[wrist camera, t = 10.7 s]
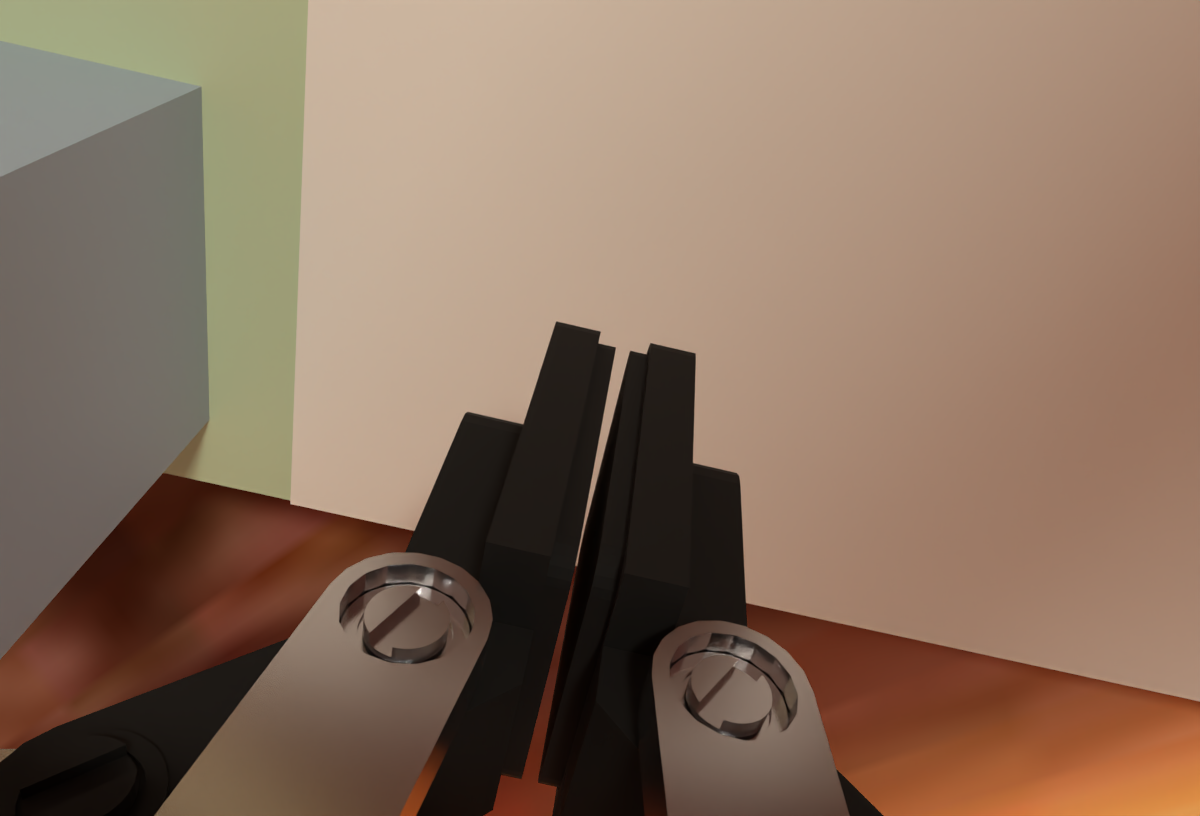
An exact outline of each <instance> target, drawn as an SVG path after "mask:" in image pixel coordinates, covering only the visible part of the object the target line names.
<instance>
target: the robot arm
mask: <svg viewBox="0 0 1200 816" xmlns="http://www.w3.org/2000/svg"><path fill="white" fill-rule="evenodd" d="M600 333H601V331H596V330H592V329H588V328H583V327H579V326H575V325H570V324H566V323H562V322H557V321H556V323H555V326H554V329H553V333H552V336H551V339H550V342H549V345H548V348H547V351H546V355H545V358H544V361H543V364H542V367H541V370H540V373H539V377H538V380H537V383H536V386H535V389H534V392H533V395H532V399H531V402H530V405H529V408H528V411H527V414H526V417H525V420H524V424H520V423H515V422H511V421H507V420H502V419H498V418H493V417H489V416H485V415H480V414H476V413H471V412H467V413H465V415H464V417H463V419H462V421H461V423H460V425H459V428H458V430H457V432H456V435H455V437H454V439H453V442H452V444H451V446H450V449H449V451H448V453H447V456H446V458H445V460H444V463H443V465H442V468H441V470H440V472H439V475H438V477H437V479H436V482H435V484H434V486H433V489H432V491H431V493H430V496H429V498H428V500H427V503H426V505H425V507H424V510H423V512H422V514H421V517H420V519H419V521H418V524H417V526H416V529H415V531H414V533H413V536H412V538H411V540H410V543H409V545H408V547H407V550H406V552H405V553H388V554H384V555H379V556H375V557H370V558H367V559H365V560H363V561H361V562H359V563H357V564H355V565H353V566H351V567H349V568H347V569H345V570H344V571H343V572H342V573H341V574H340V575H339V576H338V577H337V578H336V579H335V580H334V581H333V582H332V583H331V584H330V585H329V586H328V587H327V589H326V590H325V591H324V593H323V594H322V595H321V597H320V598H319V599H318V601H317V602H316V603H315V604H314V606H313V607H312V608H311V610H310V611H309V612H308V614H307V615H306V616H305V618H304V619H303V620H302V622H301V623H300V624H299V626H298V627H297V628H296V629H295V631H294V632H293V633H292V635H291V636H290V637H289V638H288V639H286V640H283V641H281V642H278V643H275V644H273V645H270V646H267V647H265V648H262V649H259V650H257V651H254V652H252V653H249V654H246V655H244V656H241V657H238V658H236V659H233V660H231V661H228V662H225V663H223V664H220V665H217V666H215V667H212V668H210V669H207V670H204V671H202V672H199V673H196V674H194V675H191V676H189V677H186V678H183V679H181V680H178V681H175V682H173V683H170V684H168V685H165V686H162V687H160V688H157V689H154V690H152V691H149V692H147V693H144V694H141V695H139V696H136V697H133V698H131V699H128V700H126V701H123V702H120V703H118V704H115V705H112V706H110V707H107V708H105V709H102V710H99V711H97V712H94V713H91V714H89V715H86V716H84V717H81V718H78V719H76V720H73V721H70V722H68V723H65V724H63V725H60V726H57V727H55V728H53V729H51V730H49V731H47V732H45V733H43V734H41V735H39V736H37V737H35V738H33V739H31V740H29V741H27V742H25V743H23V744H22V745H21V746H20V747H18V748H17V749H0V816H483V815H485V814H487V813H488V812H490V811H492V810H493V806H494V802H495V798H496V794H497V789H498V785H499V781H500V776H501V775H505V776H510V777H514V778H519V779H521V778H522V775H523V771H524V767H525V763H526V759H527V755H528V751H529V747H530V743H531V739H532V735H533V731H534V727H535V724H536V720H537V716H538V712H539V708H540V704H541V700H542V696H543V692H544V688H545V684H546V680H547V676H548V672H549V668H550V664H551V661H552V657H553V653H554V649H555V645H556V641H557V637H558V633H559V629H560V625H561V621H562V617H563V613H564V609H565V605H566V601H567V598H568V594H569V590H570V586H571V581H572V577H573V573H574V568H575V564H576V559H577V555H578V550H579V545H580V540H581V535H582V529H583V524H584V518H585V513H586V508H587V502H588V497H589V491H590V486H591V480H592V475H593V470H594V464H595V459H596V453H597V448H598V443H599V437H600V432H601V426H602V421H603V415H604V410H605V405H606V399H607V394H608V388H609V383H610V378H611V372H612V367H613V361H614V356H615V351H616V347H612V346H608V345H603V344H599V338H600ZM695 371H696V353H692V352H688V351H683V350H679V349H675V348H670V347H666V346H662V345H657V344H653V343H650V345H649V348H648V351H647V354H643V353H638V352H634V351H630V353H629V356H628V360H627V364H626V368H625V371H624V375H623V379H622V383H621V387H620V391H619V395H618V399H617V403H616V407H615V411H614V415H613V419H612V423H611V427H610V431H609V435H608V438H607V442H606V446H605V450H604V454H603V458H602V462H601V466H600V470H599V474H598V478H597V482H596V486H595V490H594V494H593V498H592V502H591V505H590V509H589V513H588V517H587V521H586V525H585V530H584V534H583V538H582V543H581V548H580V553H579V558H578V564H577V569H576V575H575V580H574V586H573V591H572V597H571V602H570V608H569V613H568V619H567V624H566V630H565V635H564V641H563V646H562V651H561V657H560V662H559V668H558V673H557V679H556V684H555V690H554V695H553V701H552V706H551V712H550V717H549V723H548V728H547V734H546V739H545V744H544V750H543V755H542V761H541V766H540V772H539V778H538V783H542V784H546V785H551V786H556V787H557V790H556V796H555V802H554V809H553V815H552V816H883V815H882V814H881V813H880V812H879V811H878V810H877V809H876V808H875V807H874V806H873V805H872V804H871V803H870V802H869V801H868V800H867V799H866V798H865V797H864V796H863V795H862V794H861V793H860V792H859V791H858V790H857V789H856V788H855V787H854V786H853V785H852V784H851V783H850V782H849V781H848V780H847V779H846V778H845V777H844V776H843V775H842V774H841V773H840V772H839V771H838V770H837V769H836V767H835V764H834V760H833V757H832V754H831V750H830V747H829V743H828V740H827V736H826V733H825V730H824V726H823V723H822V719H821V716H820V713H819V709H818V706H817V702H816V699H815V696H814V692H813V690H812V688H811V686H810V683H809V681H808V679H807V677H806V675H805V673H804V671H803V670H802V668H801V667H800V666H799V665H798V664H797V662H796V661H795V660H794V659H793V658H792V657H791V655H790V654H789V653H788V652H787V651H786V650H784V649H783V648H782V647H780V646H779V645H778V644H776V643H775V642H774V641H772V640H771V639H770V638H768V637H767V636H765V635H763V634H760V633H758V632H756V631H754V630H752V629H750V628H748V627H747V615H746V594H745V572H744V550H743V529H742V507H741V486H740V478H739V475H738V474H737V473H735V472H731V471H726V470H722V469H717V468H713V467H709V466H704V465H700V464H695V463H693V442H694V407H695Z"/></svg>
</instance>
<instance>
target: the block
mask: <svg viewBox="0 0 1200 816" xmlns="http://www.w3.org/2000/svg"><path fill="white" fill-rule="evenodd" d="M209 420H210V418H209V377H208V336H207V295H206V253H205V212H204V171H203V129H202V88H201V86H197V85H192V84H188V83H184V82H179V81H175V80H170V79H166V78H162V77H157V76H153V75H149V74H144V73H140V72H135V71H131V70H127V69H122V68H118V67H113V66H109V65H105V64H100V63H96V62H91V61H87V60H83V59H78V58H74V57H70V56H65V55H61V54H56V53H52V52H48V51H43V50H39V49H34V48H30V47H26V46H21V45H17V44H12V43H8V42H4V41H0V659H1V658H2V657H3V656H4V654H5V653H6V652H7V651H8V650H9V649H10V648H11V646H12V645H13V644H14V643H15V642H16V641H17V640H18V638H19V637H20V636H21V635H22V634H23V633H24V632H25V630H26V629H27V628H28V627H29V626H30V625H31V624H32V622H33V621H34V620H35V619H36V618H37V617H38V616H39V614H40V613H41V612H42V611H43V610H44V609H45V608H46V606H47V605H48V604H49V603H50V602H51V601H52V599H53V598H54V597H55V596H56V595H57V594H58V593H59V591H60V590H61V589H62V588H63V587H64V586H65V585H66V583H67V582H68V581H69V580H70V579H71V578H72V577H73V575H74V574H75V573H76V572H77V571H78V570H79V569H80V567H81V566H82V565H83V564H84V563H85V562H86V561H87V559H88V558H89V557H90V556H91V555H92V554H93V553H94V551H95V550H96V549H97V548H98V547H99V546H100V544H101V543H102V542H103V541H104V540H105V539H106V538H107V536H108V535H109V534H110V533H111V532H112V531H113V530H114V528H115V527H116V526H117V525H118V524H119V523H120V522H121V520H122V519H123V518H124V517H125V516H126V515H127V514H128V512H129V511H130V510H131V509H132V508H133V507H134V506H135V504H136V503H137V502H138V501H139V500H140V499H141V498H142V496H143V495H144V494H145V493H146V492H147V491H148V490H149V488H150V487H151V486H152V485H153V484H154V483H155V481H156V480H157V479H158V478H159V477H160V476H161V475H162V473H163V472H164V471H165V470H166V469H167V468H168V467H169V465H170V464H171V463H172V462H173V461H174V460H175V459H176V457H177V456H178V455H179V454H180V453H181V452H182V451H183V449H184V448H185V447H186V446H187V445H188V444H189V443H190V441H191V440H192V439H193V438H194V437H195V436H196V435H197V433H198V432H199V431H200V430H201V429H202V428H203V426H204V425H205V424H206V423H207V422H208V421H209Z"/></svg>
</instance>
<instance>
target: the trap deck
mask: <svg viewBox="0 0 1200 816" xmlns="http://www.w3.org/2000/svg"><path fill="white" fill-rule="evenodd" d="M0 41H4V42H8V43H12V44H17V45H21V46H26V47H30V48H34V49H39V50H43V51H48V52H52V53H56V54H61V55H65V56H70V57H74V58H78V59H83V60H87V61H91V62H96V63H100V64H105V65H109V66H113V67H118V68H122V69H127V70H131V71H135V72H140V73H144V74H149V75H153V76H157V77H162V78H166V79H170V80H175V81H179V82H184V83H188V84H192V85H197V86H201V88H202V129H203V171H204V212H205V253H206V295H207V336H208V377H209V418H210V420H209V421H208V422H207V423H206V424H205V425H204V426H203V428H202V429H201V430H200V431H199V432H198V433H197V435H196V436H195V437H194V438H193V439H192V440H191V441H190V443H189V444H188V445H187V446H186V447H185V448H184V449H183V451H182V452H181V453H180V454H179V455H178V456H177V457H176V459H175V460H174V461H173V462H172V463H171V464H170V465H169V467H168V468H167V469H166V470H165V471H164V472H163V473H167V474H171V475H176V476H180V477H185V478H190V479H194V480H199V481H203V482H208V483H213V484H217V485H222V486H226V487H231V488H236V489H240V490H245V491H249V492H254V493H259V494H263V495H268V496H272V497H277V498H282V499H286V500H290V504H293V505H297V506H302V507H307V508H311V509H316V510H320V511H325V512H330V513H334V514H339V515H343V516H348V517H353V518H357V519H362V520H366V521H371V522H376V523H380V524H385V525H389V526H394V527H399V528H403V529H408V530H413V531H415V529H416V526H417V524H418V521H419V519H420V517H421V514H422V512H423V510H424V507H425V505H426V503H427V500H428V498H429V496H430V493H431V491H432V489H433V486H434V484H435V482H436V479H437V477H438V475H439V472H440V470H441V468H442V465H443V463H444V460H445V458H446V456H447V453H448V451H449V449H450V446H451V444H452V442H453V439H454V437H455V435H456V432H457V430H458V428H459V425H460V423H461V421H462V419H463V417H464V415H465V413H467V412H471V413H476V414H480V415H485V416H489V417H493V418H498V419H502V420H507V421H511V422H515V423H520V424H524V420H525V417H526V414H527V411H528V408H529V405H530V402H531V399H532V395H533V392H534V389H535V386H536V383H537V380H538V377H539V373H540V370H541V367H542V364H543V361H544V358H545V355H546V351H547V348H548V345H549V342H550V339H551V336H552V333H553V329H554V326H555V323H556V321H557V322H562V323H566V324H570V325H575V326H579V327H583V328H588V329H592V330H596V331H601V333H600V338H599V344H603V345H608V346H612V347H616V351H615V356H614V361H613V367H612V372H611V378H610V383H609V388H608V394H607V399H606V405H605V410H604V415H603V421H602V426H601V432H600V437H599V443H598V448H597V453H596V459H595V464H594V470H593V475H592V480H591V486H590V491H589V497H588V502H587V508H586V513H585V518H584V524H583V529H582V535H581V540H580V545H579V550H578V555H577V559H576V564H575V566H577V564H578V558H579V553H580V548H581V543H582V538H583V534H584V530H585V525H586V521H587V517H588V513H589V509H590V505H591V502H592V498H593V494H594V490H595V486H596V482H597V478H598V474H599V470H600V466H601V462H602V458H603V454H604V450H605V446H606V442H607V438H608V435H609V431H610V427H611V423H612V419H613V415H614V411H615V407H616V403H617V399H618V395H619V391H620V387H621V383H622V379H623V375H624V371H625V368H626V364H627V360H628V356H629V353H630V351H634V352H638V353H643V354H647V351H648V348H649V345H650V343H653V344H657V345H662V346H666V347H670V348H675V349H679V350H683V351H688V352H692V353H696V371H695V407H694V442H693V463H695V464H700V465H704V466H709V467H713V468H717V469H722V470H726V471H731V472H735V473H737V474H738V475H739V478H740V486H741V507H742V529H743V550H744V572H745V594H746V603H749V604H753V605H758V606H762V607H767V608H772V609H776V610H781V611H785V612H790V613H795V614H799V615H804V616H808V617H813V618H818V619H822V620H827V621H831V622H836V623H841V624H845V625H850V626H854V627H859V628H864V629H868V630H873V631H877V632H882V633H887V634H891V635H896V636H900V637H905V638H910V639H914V640H919V641H923V642H928V643H933V644H937V645H942V646H946V647H951V648H956V649H960V650H965V651H969V652H974V653H979V654H983V655H988V656H993V657H997V658H1002V659H1006V660H1011V661H1016V662H1020V663H1025V664H1029V665H1034V666H1039V667H1043V668H1048V669H1052V670H1057V671H1062V672H1066V673H1071V674H1075V675H1080V676H1085V677H1089V678H1094V679H1098V680H1103V681H1108V682H1112V683H1117V684H1121V685H1126V686H1131V687H1135V688H1140V689H1144V690H1149V691H1154V692H1158V693H1163V694H1167V695H1172V696H1177V697H1181V698H1186V699H1190V700H1195V701H1200V0H0Z"/></svg>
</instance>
